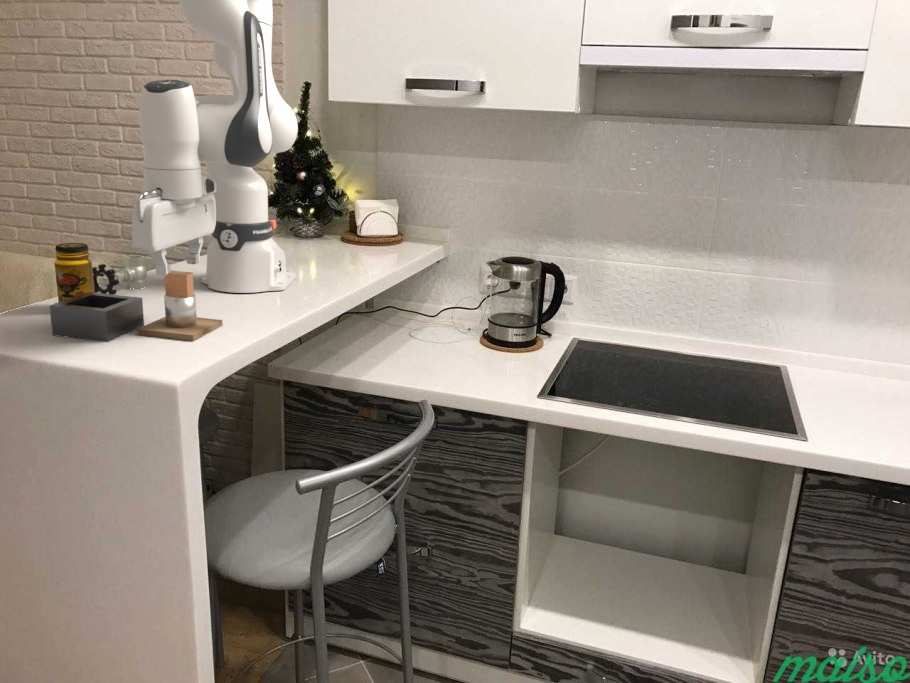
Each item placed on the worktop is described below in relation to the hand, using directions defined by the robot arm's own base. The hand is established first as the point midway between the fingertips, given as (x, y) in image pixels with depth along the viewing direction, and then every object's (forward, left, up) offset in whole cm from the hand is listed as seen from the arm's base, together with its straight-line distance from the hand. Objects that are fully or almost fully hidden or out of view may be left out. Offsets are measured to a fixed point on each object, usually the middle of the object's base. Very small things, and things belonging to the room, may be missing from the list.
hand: (179, 269), depth 127 cm
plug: (0, 0, -10) cm, 10 cm away
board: (+1, 0, -11) cm, 11 cm away
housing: (+6, -12, -11) cm, 17 cm away
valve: (-20, -24, -11) cm, 33 cm away
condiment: (-5, -24, -11) cm, 27 cm away
